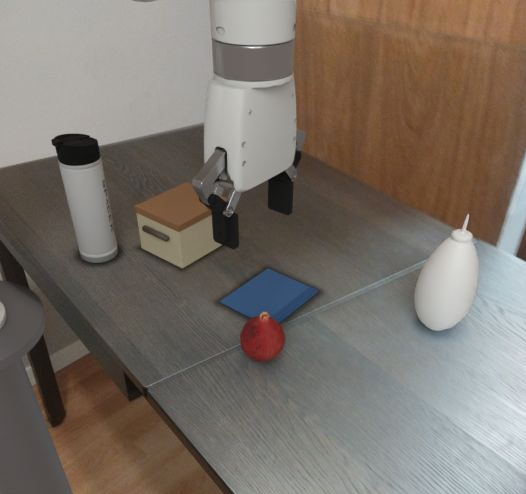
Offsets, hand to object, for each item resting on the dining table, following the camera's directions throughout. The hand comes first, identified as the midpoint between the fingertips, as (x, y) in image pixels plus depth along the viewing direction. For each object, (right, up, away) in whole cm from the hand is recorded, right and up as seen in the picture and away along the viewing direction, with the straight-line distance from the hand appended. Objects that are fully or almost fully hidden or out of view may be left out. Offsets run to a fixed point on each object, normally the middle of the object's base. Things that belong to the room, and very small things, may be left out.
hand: (254, 227), depth 60 cm
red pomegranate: (+1, -15, +12) cm, 19 cm away
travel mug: (-27, +2, +31) cm, 41 cm away
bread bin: (-13, +5, +34) cm, 36 cm away
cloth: (+2, -6, +23) cm, 23 cm away
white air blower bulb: (+26, -11, +18) cm, 34 cm away
